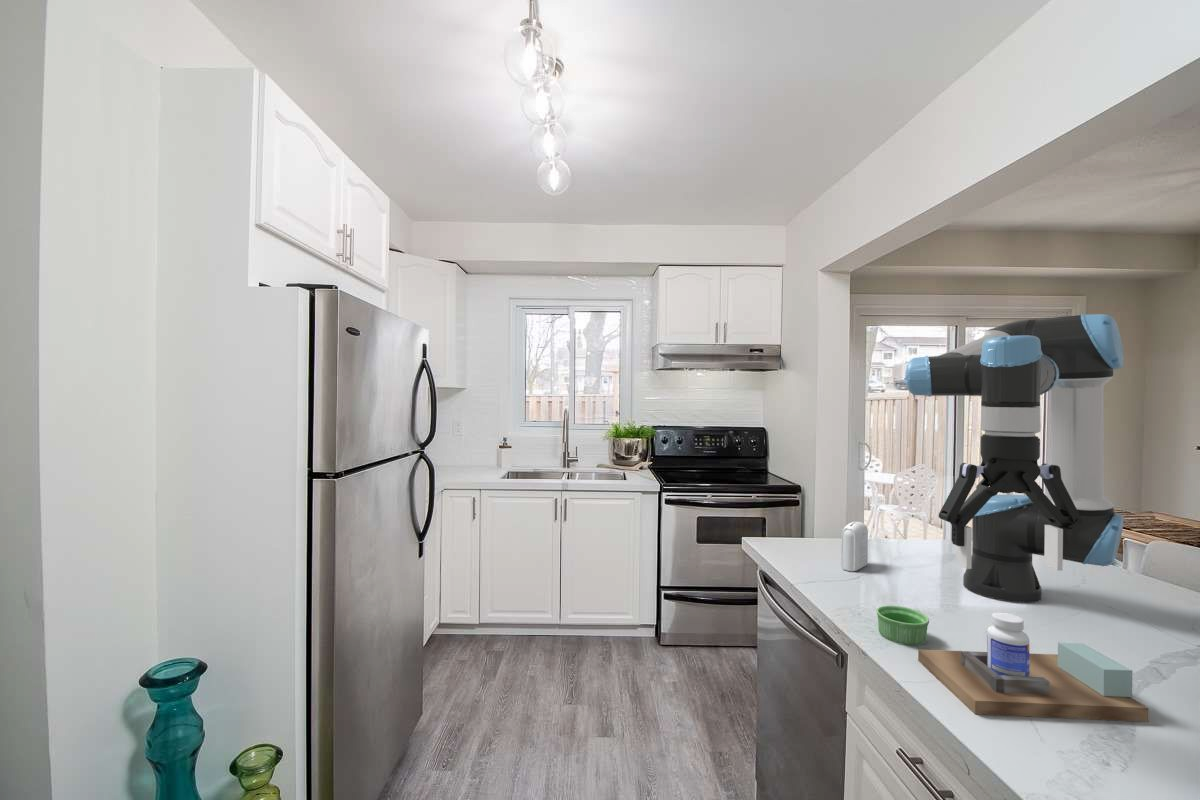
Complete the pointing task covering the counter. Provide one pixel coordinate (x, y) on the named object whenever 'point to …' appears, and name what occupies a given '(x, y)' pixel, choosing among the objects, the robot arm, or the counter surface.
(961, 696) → the cradle
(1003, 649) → the pill bottle
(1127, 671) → the pale blue rectangular block
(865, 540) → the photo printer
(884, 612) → the ramekin
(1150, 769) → the counter surface
